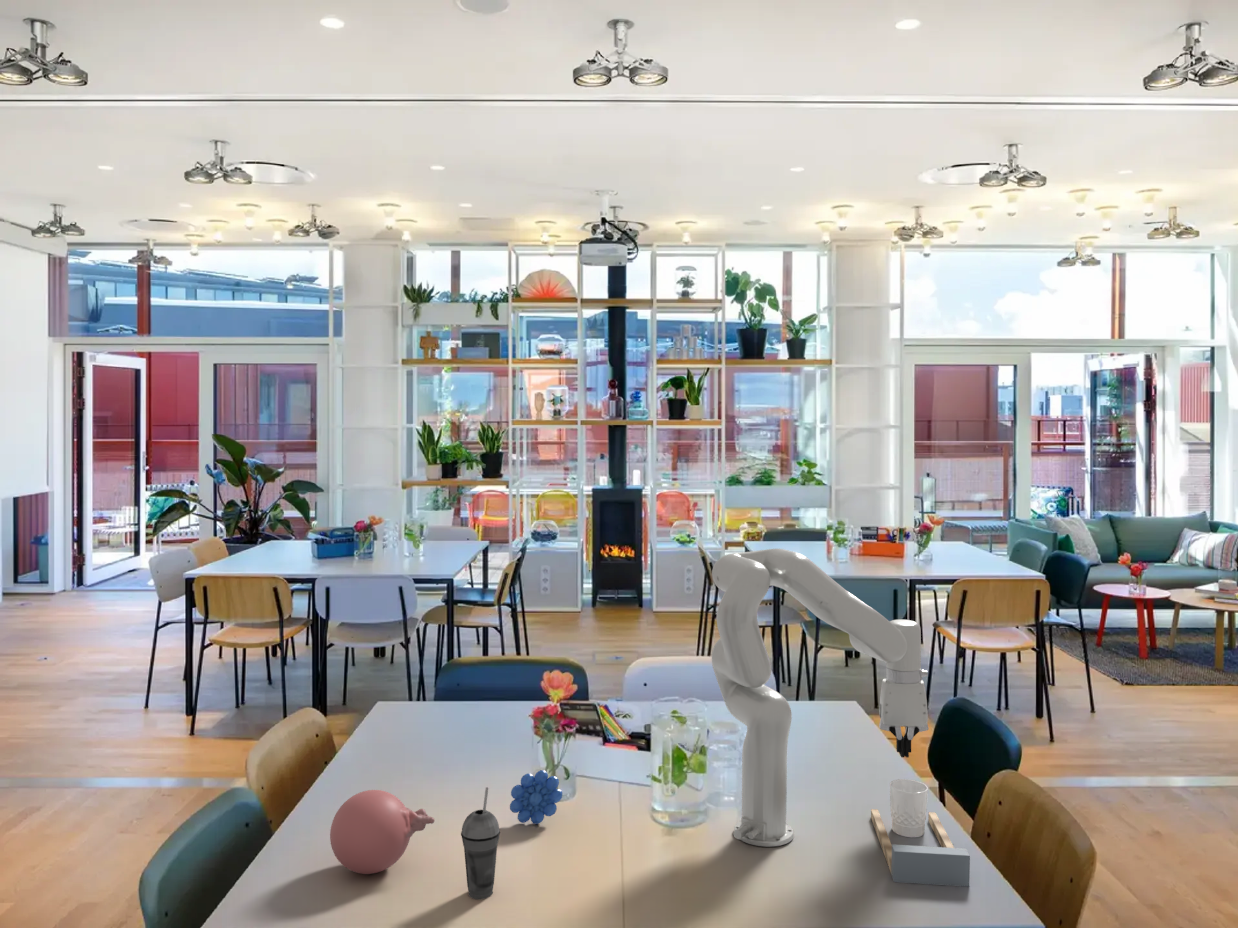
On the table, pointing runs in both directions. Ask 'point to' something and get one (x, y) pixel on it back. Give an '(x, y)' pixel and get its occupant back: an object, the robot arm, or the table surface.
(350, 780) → the table surface
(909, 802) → the white cup
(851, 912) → the table surface
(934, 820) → the guide channel
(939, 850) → the end stop
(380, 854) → the balloon
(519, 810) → the blue flower ornament
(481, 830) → the beverage cup
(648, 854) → the table surface
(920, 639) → the robot arm
